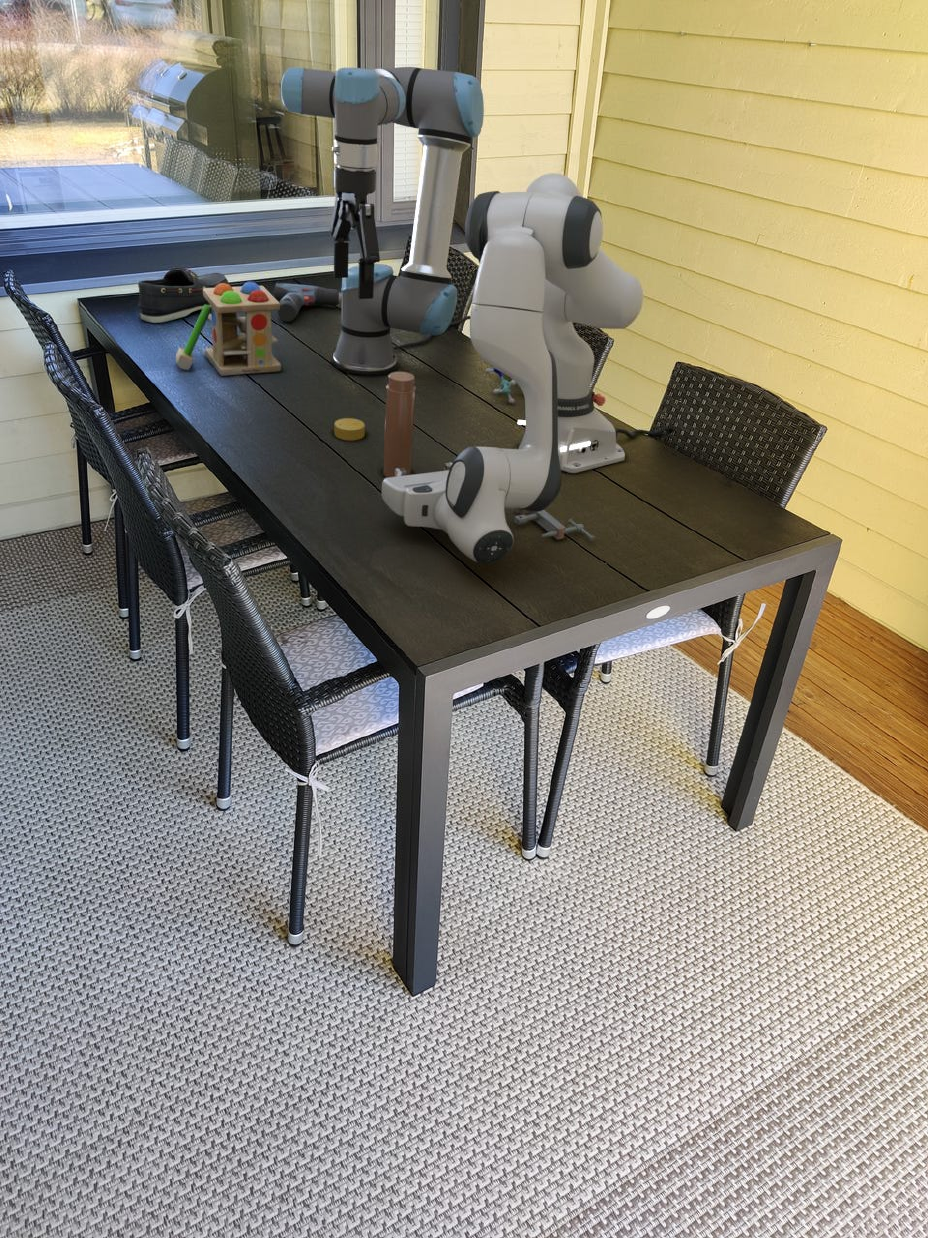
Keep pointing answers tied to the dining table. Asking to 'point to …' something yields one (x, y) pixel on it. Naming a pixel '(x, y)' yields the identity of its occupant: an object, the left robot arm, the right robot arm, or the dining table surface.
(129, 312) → the dining table surface
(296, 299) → the power drill
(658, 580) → the dining table surface
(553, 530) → the clamp
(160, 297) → the boat shoe
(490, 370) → the molecular model
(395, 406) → the jar
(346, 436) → the lid
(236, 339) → the pounding bench toy
